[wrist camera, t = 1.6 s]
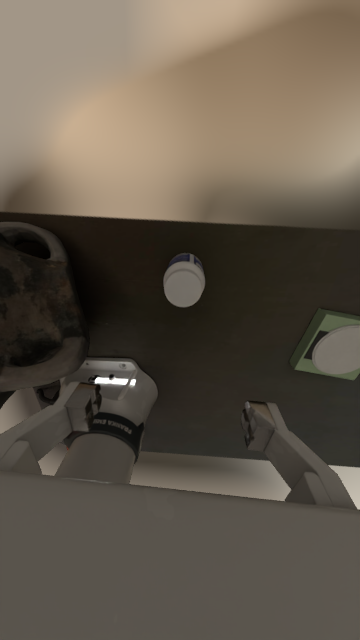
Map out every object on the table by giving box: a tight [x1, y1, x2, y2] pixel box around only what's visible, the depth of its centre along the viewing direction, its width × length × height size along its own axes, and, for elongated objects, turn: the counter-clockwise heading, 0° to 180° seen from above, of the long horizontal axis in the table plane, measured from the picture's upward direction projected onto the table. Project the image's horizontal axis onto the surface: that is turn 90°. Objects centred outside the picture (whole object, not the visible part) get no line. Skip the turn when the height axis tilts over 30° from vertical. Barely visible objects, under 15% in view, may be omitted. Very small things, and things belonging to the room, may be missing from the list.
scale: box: [289, 309, 360, 380], centre depth 36 cm, size 12×12×3 cm
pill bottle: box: [163, 253, 205, 307], centre depth 29 cm, size 6×6×10 cm
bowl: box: [0, 222, 90, 409], centre depth 28 cm, size 27×26×15 cm
